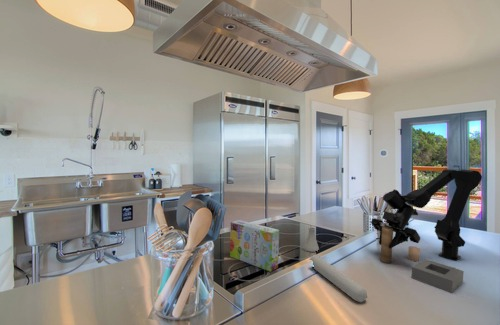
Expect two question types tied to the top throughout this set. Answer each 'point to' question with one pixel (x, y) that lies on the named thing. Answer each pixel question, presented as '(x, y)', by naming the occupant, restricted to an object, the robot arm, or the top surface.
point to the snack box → (254, 244)
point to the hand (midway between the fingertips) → (384, 245)
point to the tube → (339, 279)
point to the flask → (311, 241)
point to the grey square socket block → (437, 275)
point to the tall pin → (386, 244)
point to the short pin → (413, 253)
